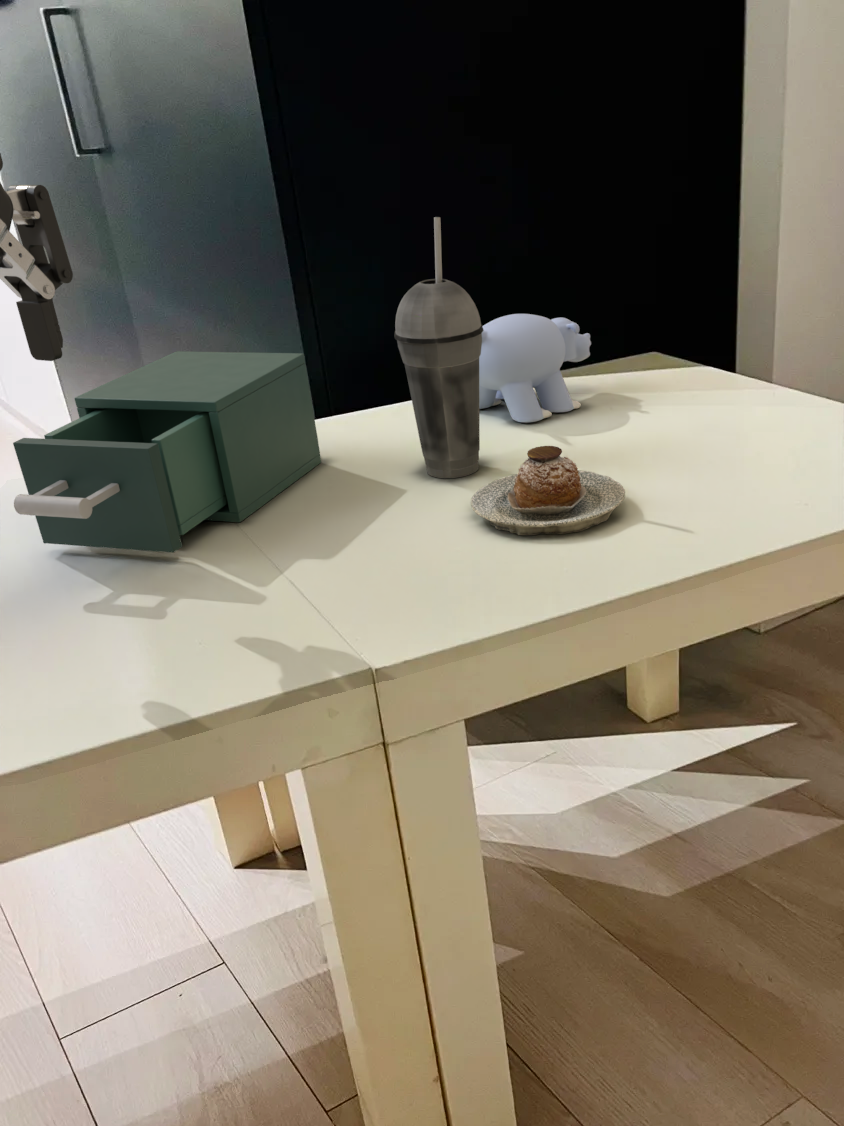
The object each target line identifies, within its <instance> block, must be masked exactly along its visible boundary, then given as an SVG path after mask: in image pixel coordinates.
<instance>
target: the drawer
mask: <svg viewBox="0 0 844 1126" xmlns="http://www.w3.org/2000/svg"><path fill="white" fill-rule="evenodd" d="M43 436H44V438H38V437H37V438H36V437H22V438H20V439H18V440H15V441H14V442H12V445H13V448H14V451H15V455H16V457H17V461H18V464H19V467H20V471H21V474H22V477H23V480H24V483H25V487H26V490H27V493H28V494H25V493H20V494H17V495H16V496H15V497H14V500H13V508H14V510H15V512H16V513H17V514H19V515H23V516H34V517H35V519H36V523H37V526H38V530H39V533H40V536H41V539H42V543H43V544H48V545H49V544H52V545H63V546H78V547H91V548H103V549H104V548H105V549H121V550H131V551H132V550H133V551H147V552H158V553H159V552H160V553H175V552H176V551H178V550H179V549H181V548H182V547H183V544H182V540H181V536H184V535H185V534H186V533H188V532H189V531H191V530H192V529H194V528H195V527H197V526H198V525H199V524H201V523H202V522H204V521H206V520H205V519H206V518H208V517H209V516H211V515H212V514H213V513H215V512H216V511H218V510H219V509H221V508H222V507H223V506H225V505H226V504H228V502H227V497H226V492H225V488H224V483H223V478H222V473H221V469H220V464H219V459H218V454H217V450H216V445H215V440H214V436H213V431H212V426H211V421H210V417H209V412H199V411H168V410H138V409H108V408H100V409H98V410H96V411H93V412H91V413H89V414H87V415H85V416H83V417H81V418H79V417H78V418H77V419H75V420H73V421H71V422H69V423H67V424H64V425H62V426H59V427H58V428H56V429H53V430H52V431H50V432H48V433H45V434H44V435H43Z"/></svg>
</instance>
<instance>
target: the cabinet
mask: <svg viewBox="0 0 844 1126" xmlns="http://www.w3.org/2000/svg"><path fill="white" fill-rule="evenodd" d="M73 399H74V402H75V406H76V411H77V414H78V419H79V418H81V417H83V416H85V415H87V414H89V413H91V412H93V411H96V410H98V409H100V408H108V409H138V410H168V411H199V412H209V417H210V421H211V426H212V431H213V436H214V440H215V445H216V450H217V454H218V459H219V464H220V469H221V473H222V478H223V483H224V488H225V492H226V497H227V502H228V504H226V505H225V506H223V507H222V508H221V509H219V510H218V511H216V512H215V513H213V514H212V515H211V516H209V517H208V518H206V519H205V520H204V521H214V522H215V521H216V522H230V523H241V522H243V521H244V520H245V519H247V518H248V517H250V516H251V515H252V514H254V513H255V512H256V511H258V510H259V509H260V508H262V507H263V506H265V505H266V504H267V503H268V502H270V501H271V500H273V499H274V498H275V497H276V496H278V495H279V494H281V493H282V492H283V491H285V490H286V489H287V488H288V487H291V486H292V485H293V484H294V483H296V482H297V481H298V480H299V479H301V478H302V477H304V476H305V475H306V474H307V473H309V472H310V471H311V470H313V469H314V468H316V467H317V466H318V465H320V464H322V456H321V449H320V443H319V438H318V432H317V426H316V420H315V413H314V407H313V400H312V394H311V389H310V384H309V377H308V369H307V365H306V359H305V354H304V353H301V352H299V353H297V352H295V353H294V352H238V351H236V352H235V351H233V352H231V351H230V352H229V351H175V352H172V353H170V354H168V355H166V356H163V357H162V358H158V359H157V360H155V361H152V362H149V363H148V364H145V365H143V366H141V367H139V368H137V369H134V370H133V371H130V372H128V373H126V374H123V375H121V376H119V377H116V378H115V379H112V380H110V381H108V382H105V383H103V384H101V385H99V386H97V387H95V388H93V389H91V390H87V391H86V392H84V393H82V394H80V395H77V396H75V397H74V398H73Z"/></svg>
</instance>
